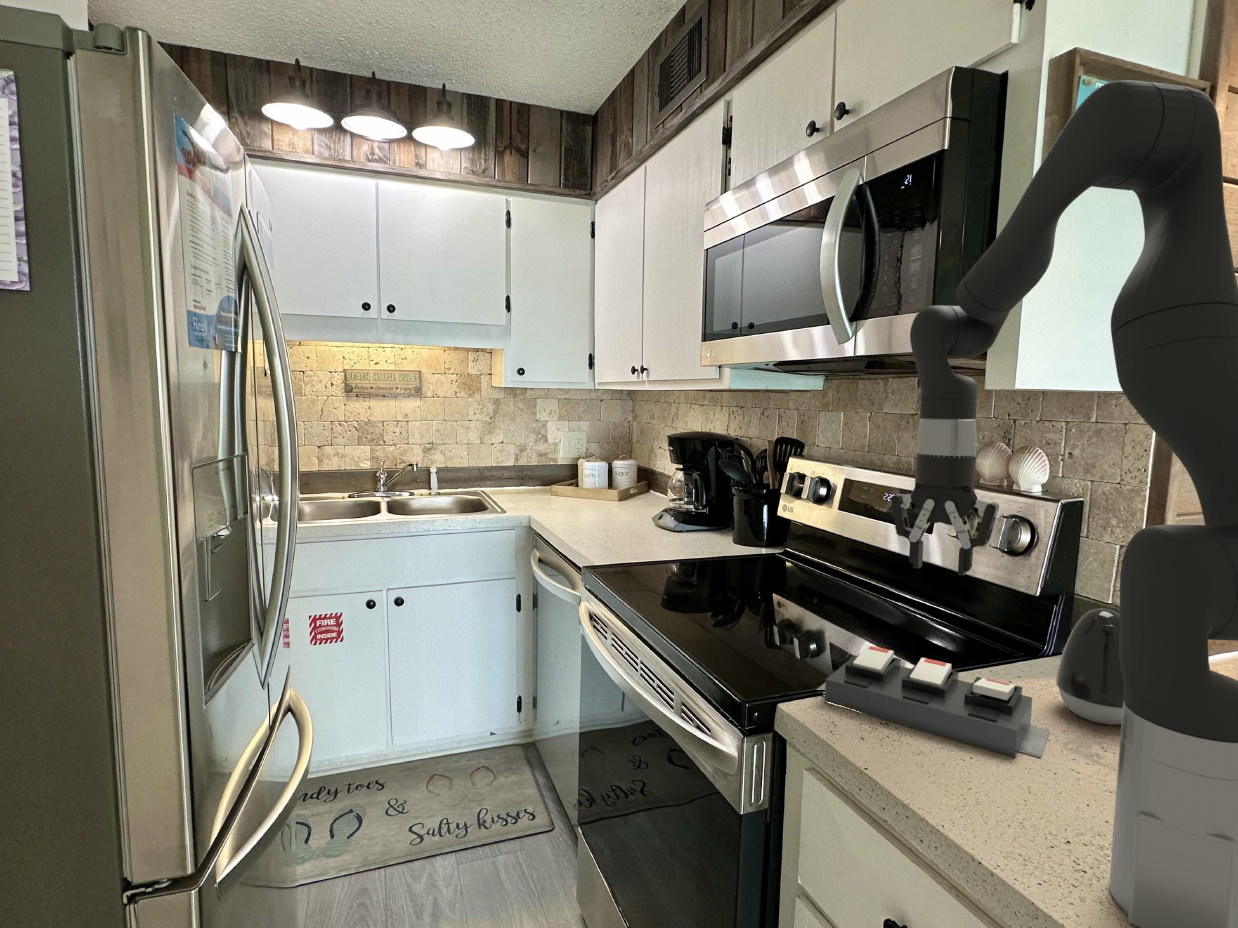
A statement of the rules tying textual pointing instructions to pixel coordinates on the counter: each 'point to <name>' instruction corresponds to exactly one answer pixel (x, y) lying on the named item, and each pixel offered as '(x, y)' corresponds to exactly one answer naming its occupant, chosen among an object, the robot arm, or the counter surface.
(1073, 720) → the counter surface
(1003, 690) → the rocker
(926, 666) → the middle rocker
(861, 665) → the rocker
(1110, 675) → the pump dispenser
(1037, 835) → the counter surface
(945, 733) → the rocker switch box
